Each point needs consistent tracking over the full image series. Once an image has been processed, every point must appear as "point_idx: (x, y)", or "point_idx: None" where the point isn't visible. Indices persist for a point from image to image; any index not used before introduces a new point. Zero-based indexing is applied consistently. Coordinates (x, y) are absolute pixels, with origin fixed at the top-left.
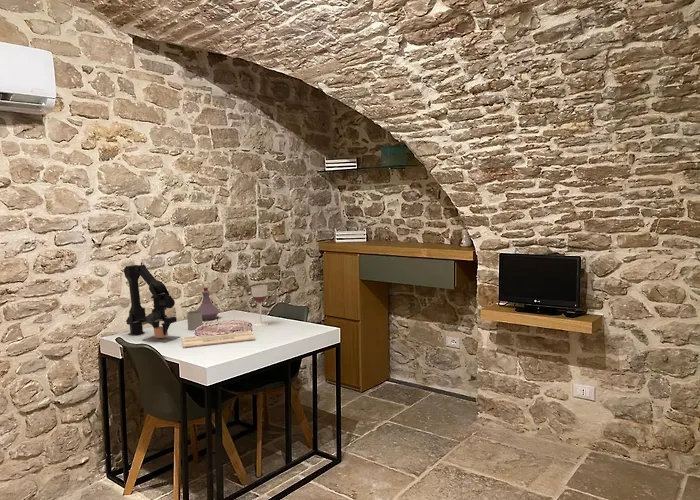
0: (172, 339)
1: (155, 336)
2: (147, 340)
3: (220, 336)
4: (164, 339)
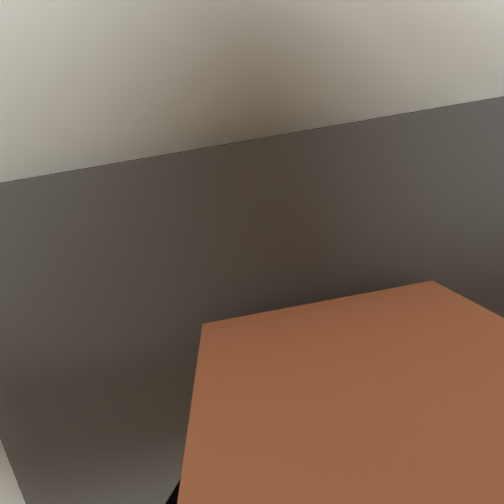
0: (2, 432)
1: (407, 295)
2: (469, 102)
3: None
4: (153, 344)
